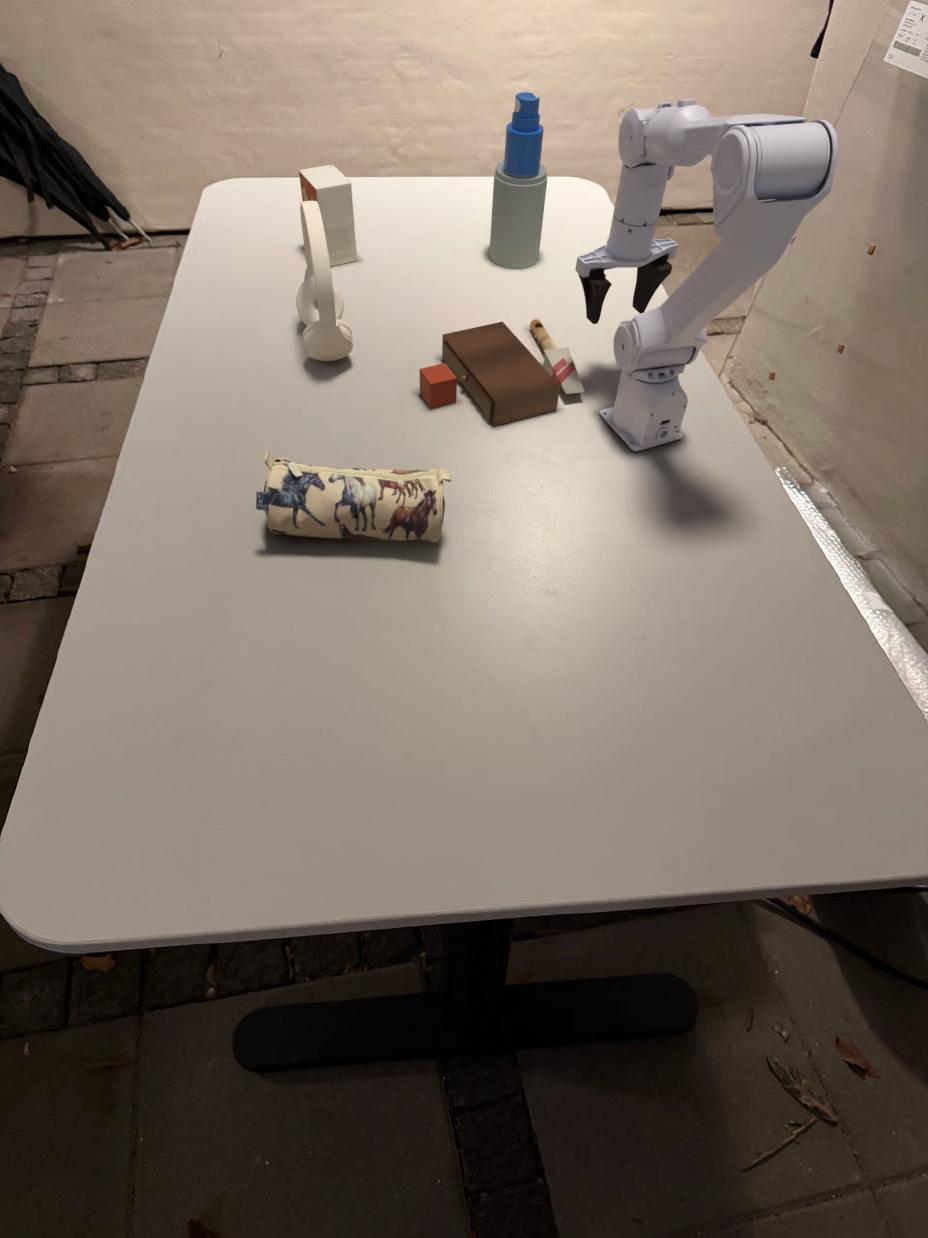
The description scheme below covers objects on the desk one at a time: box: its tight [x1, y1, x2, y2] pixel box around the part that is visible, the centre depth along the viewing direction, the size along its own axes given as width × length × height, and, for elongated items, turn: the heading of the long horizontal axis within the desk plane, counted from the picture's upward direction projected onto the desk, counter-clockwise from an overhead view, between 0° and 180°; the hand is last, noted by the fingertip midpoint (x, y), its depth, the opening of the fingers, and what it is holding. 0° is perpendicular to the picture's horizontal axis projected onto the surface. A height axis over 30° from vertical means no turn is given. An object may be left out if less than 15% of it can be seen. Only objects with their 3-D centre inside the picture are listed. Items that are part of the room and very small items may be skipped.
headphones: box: [295, 201, 354, 362], centre depth 111 cm, size 7×18×20 cm, turn 13°
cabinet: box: [441, 321, 561, 427], centre depth 112 cm, size 18×11×4 cm, turn 25°
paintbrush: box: [529, 318, 585, 395], centre depth 117 cm, size 4×3×20 cm
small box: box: [298, 164, 358, 267], centre depth 132 cm, size 8×6×13 cm
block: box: [419, 362, 458, 409], centre depth 110 cm, size 4×4×4 cm
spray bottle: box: [488, 91, 548, 270], centre depth 129 cm, size 9×9×25 cm
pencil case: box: [255, 449, 452, 543], centre depth 90 cm, size 22×8×10 cm, turn 88°
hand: (615, 314), depth 109 cm, fingers open, 7 cm apart
